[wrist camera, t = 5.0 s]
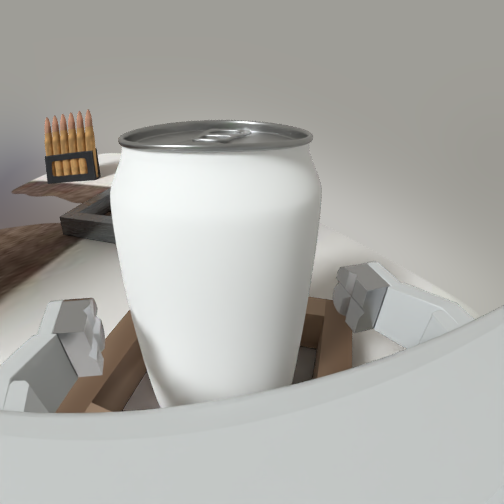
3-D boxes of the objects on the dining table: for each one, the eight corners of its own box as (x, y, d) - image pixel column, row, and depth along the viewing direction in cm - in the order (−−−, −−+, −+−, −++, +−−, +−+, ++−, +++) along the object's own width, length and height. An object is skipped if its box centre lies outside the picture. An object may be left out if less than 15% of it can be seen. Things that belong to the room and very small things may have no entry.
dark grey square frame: (63, 234, 29) (59, 216, 28) (131, 191, 41) (130, 177, 40) (176, 253, 26) (174, 232, 25) (227, 199, 38) (227, 183, 37)
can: (137, 425, 12) (54, 152, 6) (184, 337, 18) (166, 119, 12) (276, 461, 11) (333, 160, 5) (295, 357, 17) (326, 126, 11)
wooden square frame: (70, 440, 11) (47, 413, 9) (167, 302, 20) (162, 271, 19) (323, 521, 8) (340, 507, 7) (342, 335, 18) (351, 303, 17)
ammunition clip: (100, 176, 48) (95, 108, 42) (96, 179, 47) (90, 109, 41) (52, 180, 48) (45, 117, 42) (47, 183, 46) (40, 118, 41)
